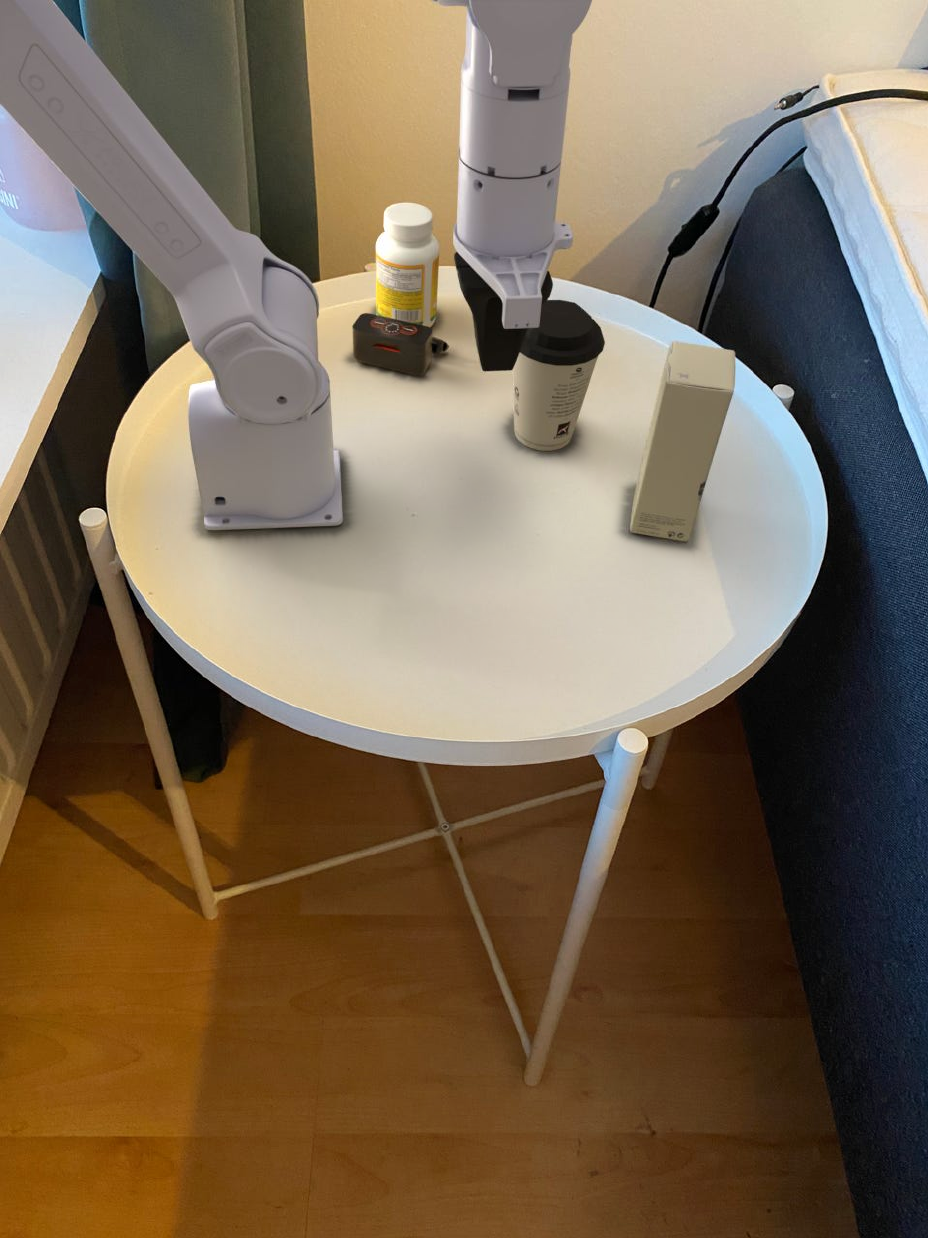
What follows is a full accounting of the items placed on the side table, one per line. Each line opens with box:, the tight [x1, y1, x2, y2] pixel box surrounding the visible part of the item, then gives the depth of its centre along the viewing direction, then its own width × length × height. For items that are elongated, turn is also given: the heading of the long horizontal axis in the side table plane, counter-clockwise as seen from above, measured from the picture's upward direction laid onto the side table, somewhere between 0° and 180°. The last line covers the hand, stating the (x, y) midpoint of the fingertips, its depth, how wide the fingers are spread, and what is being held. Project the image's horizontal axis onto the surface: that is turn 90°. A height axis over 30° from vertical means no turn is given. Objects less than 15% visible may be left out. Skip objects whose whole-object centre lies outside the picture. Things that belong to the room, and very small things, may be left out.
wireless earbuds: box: [351, 312, 450, 376], centre depth 81 cm, size 5×7×3 cm, turn 73°
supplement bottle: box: [375, 202, 440, 328], centre depth 82 cm, size 5×5×10 cm
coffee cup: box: [512, 299, 606, 452], centre depth 73 cm, size 7×7×10 cm
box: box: [629, 340, 736, 542], centre depth 66 cm, size 5×4×13 cm
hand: (496, 364), depth 64 cm, fingers closed
